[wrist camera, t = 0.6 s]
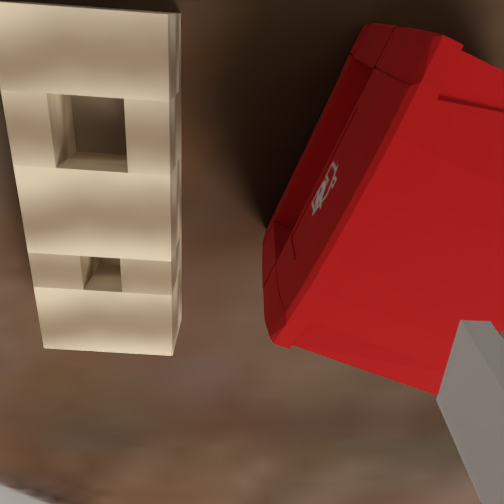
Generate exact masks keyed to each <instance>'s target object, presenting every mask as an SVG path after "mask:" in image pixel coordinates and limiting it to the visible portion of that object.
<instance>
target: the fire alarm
mask: <svg viewBox="0 0 504 504" xmlns="http://www.w3.org/2000/svg"><path fill="white" fill-rule="evenodd" d="M463 46H464V45H463V44H461V43H459V42H457V41H455V40H453V39H451V38H449V37H447V36H445V35H442V34H439V33H435V32H431V31H427V30H423V29H416V28H409V27H403V26H397V25H390V24H382V23H369V24H365V25H364V26H363V28H362V30H361V31H360V33H359V35H358V37H357V39H356V41H355V43H354V45H353V47H352V49H351V51H350V53H351V54H350V55H349V56H348V58H347V60H346V62H345V64H344V67H343V69H342V71H341V73H340V76H339V78H338V80H337V82H336V84H335V87H334V89H333V91H332V93H331V95H330V97H329V99H328V101H327V103H326V105H325V107H324V110H323V112H322V114H321V116H320V118H319V120H318V122H317V124H316V126H315V128H314V131H313V133H312V135H311V137H310V139H309V141H308V143H307V145H306V147H305V149H304V151H303V154H302V156H301V158H300V160H299V162H298V164H297V166H296V168H295V170H294V172H293V175H292V177H291V179H290V181H289V183H288V185H287V187H286V189H285V191H284V193H283V195H282V197H281V199H280V201H279V203H278V205H277V207H276V210H275V212H274V214H273V216H272V218H271V220H270V223H269V225H268V227H267V229H266V233H265V237H264V241H263V255H262V274H263V294H264V317H265V322H266V326H267V329H268V332H269V336H270V338H271V340H272V341H273V343H275V344H277V345H280V346H283V347H286V348H290V347H291V346H292V345H294V346H297V347H300V348H303V349H306V350H308V351H311V352H314V353H317V354H320V355H323V356H326V357H328V358H331V359H334V360H337V361H340V362H343V363H346V364H349V365H351V366H354V367H357V368H360V369H363V370H366V371H369V372H371V373H374V374H377V375H380V376H383V377H386V378H389V379H391V380H394V381H397V382H400V383H403V384H406V385H409V386H411V387H414V388H417V389H420V390H423V391H426V392H429V393H432V394H434V395H437V394H438V393H439V389H440V386H441V383H442V379H443V376H444V373H445V369H446V366H447V363H448V359H449V356H450V353H451V349H452V346H453V342H454V339H455V336H456V332H457V329H458V326H459V322H460V320H470V321H491V323H492V324H493V326H494V327H495V328H496V330H497V331H498V333H499V334H500V333H501V332H502V330H503V329H504V71H502V70H500V69H498V68H496V67H494V66H492V65H490V64H488V63H486V62H484V61H482V60H480V59H478V58H476V57H474V56H472V55H470V54H468V53H466V52H464V51H462V48H463Z"/></svg>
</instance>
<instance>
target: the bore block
mask: <svg viewBox="0 0 504 504" xmlns="http://www.w3.org/2000/svg"><path fill="white" fill-rule="evenodd" d="M0 89H1V95H2V101H3V107H4V113H5V119H6V125H7V131H8V137H9V143H10V149H11V155H12V161H13V167H14V173H15V178H16V184H17V190H18V196H19V202H20V208H21V214H22V220H23V226H24V232H25V238H26V244H27V250H28V256H29V262H30V268H31V274H32V280H33V286H34V292H35V298H36V303H37V309H38V315H39V321H40V327H41V333H42V339H43V345H44V348H49V349H66V350H83V351H100V352H117V353H133V354H150V355H167V356H173V352H174V348H175V343H176V339H177V335H178V331H179V327H180V323H181V319H182V272H181V13H172V12H158V11H144V10H131V9H117V8H104V7H90V6H76V5H63V4H49V3H36V2H14V1H0Z"/></svg>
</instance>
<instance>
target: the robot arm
mask: <svg viewBox="0 0 504 504" xmlns="http://www.w3.org/2000/svg"><path fill="white" fill-rule="evenodd" d="M436 401H437V403H438V405H439V408H440V410H441V412H442V415H443V417H444V419H445V421H446V424H447V426H448V428H449V431H450V433H451V435H452V438H453V440H454V442H455V444H456V447H457V449H458V451H459V454H460V456H461V458H462V461H463V463H464V465H465V467H466V470H467V472H468V474H469V477H470V479H471V481H472V484H473V486H474V488H475V490H476V493H477V495H478V497H479V500H480V502H481V504H504V340H503V338H502V337H501V336H500V334H499V333H498V331H497V330H496V328H495V327H494V326H493V324H492V323H491V321H470V320H460V322H459V326H458V329H457V332H456V336H455V339H454V342H453V346H452V349H451V353H450V356H449V359H448V363H447V366H446V369H445V373H444V376H443V379H442V383H441V386H440V389H439V393H438V396H437V399H436Z"/></svg>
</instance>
